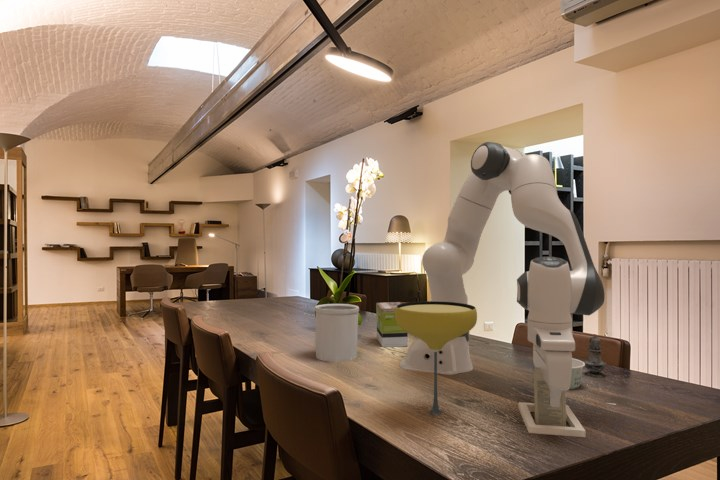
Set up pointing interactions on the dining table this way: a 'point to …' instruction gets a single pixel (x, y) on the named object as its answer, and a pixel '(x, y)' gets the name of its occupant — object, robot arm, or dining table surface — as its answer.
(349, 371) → the dining table surface
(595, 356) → the grey tiered upright piece
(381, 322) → the tea box
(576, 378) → the food container
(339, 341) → the utensil holder
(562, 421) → the skincare box
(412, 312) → the cocktail glass
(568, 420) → the beige flat frame
